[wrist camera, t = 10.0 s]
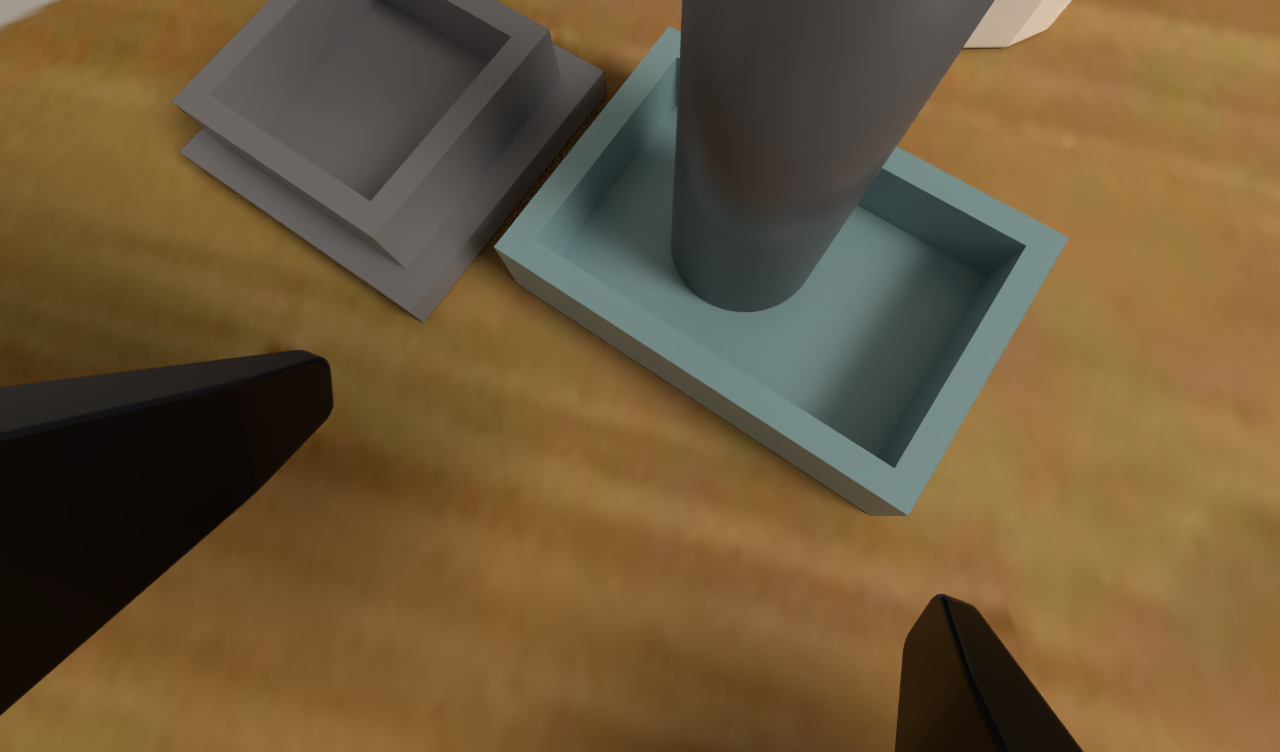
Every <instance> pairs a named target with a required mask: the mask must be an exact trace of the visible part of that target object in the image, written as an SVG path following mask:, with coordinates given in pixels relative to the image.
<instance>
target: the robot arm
mask: <svg viewBox="0 0 1280 752" xmlns="http://www.w3.org/2000/svg"><path fill="white" fill-rule="evenodd" d="M332 409H333V390H332V379H331V369H330V365H329V363H328V361H327V360H326V359H325V358H323V357H321V356H318V355H315V354H313V353H310V352H307V351H304V350H294V351H286V352H278V353H270V354H262V355H254V356H246V357H238V358H230V359H222V360H214V361H206V362H198V363H190V364H182V365H174V366H166V367H158V368H150V369H142V370H134V371H126V372H117V373H109V374H101V375H93V376H85V377H77V378H69V379H61V380H53V381H45V382H37V383H29V384H21V385H13V386H5V387H0V716H1V715H2V714H3V713H4V712H5V711H6V710H7V709H9V708H10V707H11V706H12V705H13V704H14V703H15V702H17V701H18V700H19V699H20V698H21V697H22V696H24V695H25V694H26V693H27V692H28V691H29V690H30V689H32V688H33V687H34V686H35V685H36V684H37V683H38V682H40V681H41V680H42V679H43V678H44V677H45V676H46V675H48V674H49V673H50V672H51V671H52V670H53V669H55V668H56V667H57V666H58V665H59V664H60V663H61V662H63V661H64V660H65V659H66V658H67V657H68V656H69V655H71V654H72V653H73V652H74V651H75V650H76V649H78V648H79V647H80V646H81V645H82V644H83V643H84V642H86V641H87V640H88V639H89V638H90V637H91V636H92V635H94V634H95V633H96V632H97V631H98V630H99V629H100V628H102V627H103V626H104V625H105V624H106V623H107V622H109V621H110V620H111V619H112V618H113V617H114V616H115V615H117V614H118V613H119V612H120V611H121V610H122V609H123V608H125V607H126V606H127V605H128V604H129V603H130V602H132V601H133V600H134V599H135V598H136V597H137V596H138V595H140V594H141V593H142V592H143V591H144V590H145V589H146V588H148V587H149V586H150V585H151V584H152V583H153V582H154V581H156V580H157V579H158V578H159V577H160V576H161V575H163V574H164V573H165V572H166V571H167V570H168V569H169V568H171V567H172V566H173V565H174V564H175V563H176V562H177V561H179V560H180V559H181V558H182V557H183V556H184V555H186V554H187V553H188V552H189V551H190V550H191V549H192V548H194V547H195V546H196V545H197V544H198V543H199V542H200V541H202V540H203V539H204V538H205V537H206V536H207V535H208V534H210V533H211V532H212V531H213V530H214V529H215V528H217V527H218V526H219V525H220V524H221V523H222V522H223V521H225V520H226V519H227V518H228V517H229V516H230V515H231V514H233V513H234V512H235V511H236V510H237V509H238V508H239V507H241V506H242V505H243V504H244V503H245V502H246V501H247V500H248V499H250V498H251V497H252V496H253V495H254V494H255V493H256V492H257V491H258V490H259V489H260V488H261V487H262V486H263V485H264V484H265V483H266V482H267V481H268V480H269V479H270V478H271V477H272V476H273V475H274V474H275V473H276V472H277V471H278V470H279V469H280V468H281V467H282V466H283V465H284V464H285V463H286V462H287V461H288V459H289V458H290V457H291V456H292V455H293V454H294V453H295V452H296V451H297V450H298V449H299V448H300V447H301V446H302V445H303V444H304V443H305V442H306V441H307V440H308V439H309V438H310V436H311V435H312V434H313V433H314V432H315V431H316V430H317V429H318V428H319V427H320V426H321V425H322V424H323V423H324V422H325V421H326V420H327V418H328V417H329V415H330V414H331V412H332ZM895 752H1083V750H1082V749H1081V748H1080V746H1079V745H1078V744H1077V742H1076V741H1075V740H1074V738H1073V737H1072V736H1071V734H1070V733H1069V732H1068V730H1067V729H1066V728H1065V726H1064V725H1063V724H1062V722H1061V721H1060V720H1059V718H1058V717H1057V715H1056V714H1055V713H1054V711H1053V710H1052V709H1051V707H1050V706H1049V705H1048V703H1047V702H1046V701H1045V699H1044V698H1043V697H1042V695H1041V694H1040V693H1039V691H1038V690H1037V689H1036V687H1035V686H1034V685H1033V683H1032V682H1031V681H1030V679H1029V678H1028V677H1027V675H1026V674H1025V673H1024V671H1023V670H1022V669H1021V667H1020V666H1019V664H1018V663H1017V662H1016V660H1015V659H1014V658H1013V656H1012V655H1011V654H1010V652H1009V651H1008V650H1007V648H1006V647H1005V646H1004V644H1003V643H1002V642H1001V640H1000V639H999V638H998V636H997V635H996V634H995V632H994V631H993V630H992V628H991V627H990V626H989V624H988V623H987V622H986V620H985V619H984V617H983V616H982V615H981V613H980V612H979V611H978V610H977V609H976V608H975V607H974V606H973V605H971V604H969V603H967V602H964V601H961V600H959V599H956V598H953V597H951V596H948V595H946V594H937V595H936V596H934V597H933V598H932V599H931V600H930V602H929V603H928V605H927V606H926V608H925V609H924V611H923V612H922V614H921V615H920V617H919V618H918V620H917V621H916V623H915V624H914V626H913V627H912V629H911V630H910V632H909V633H908V635H907V638H906V640H905V644H904V648H903V656H902V669H901V681H900V693H899V706H898V718H897V730H896V742H895Z"/></svg>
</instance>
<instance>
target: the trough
mask: <svg viewBox="0 0 1280 752" xmlns="http://www.w3.org/2000/svg"><path fill="white" fill-rule="evenodd" d="M680 40H681V32H679V31H678V30H676V29H674V28H672V27H670V26H669V27H668V28H667V30H666V31H665V32H664V33H663V35H662V36H661V37H660V38H659V40H658V41H657V42H656V43H655V45H654V46H653V47H652V48H651V50H650V51H649V52H648V54H647V55H646V56H645V57H644V59H643V60H642V61H641V62H640V64H639V65H638V66H637V67H636V69H635V70H634V71H633V72H632V74H631V75H630V76H629V77H628V79H627V80H626V81H625V82H624V84H623V85H622V86H621V88H620V89H619V90H618V91H617V93H616V94H615V95H614V96H613V98H612V99H611V100H610V101H609V103H608V104H607V105H606V106H605V108H604V109H603V110H602V111H601V113H600V114H599V115H598V116H597V118H596V119H595V120H594V122H593V123H592V124H591V125H590V127H589V128H588V129H587V130H586V132H585V133H584V134H583V135H582V137H581V138H580V139H579V140H578V142H577V143H576V144H575V145H574V147H573V148H572V149H571V150H570V152H569V153H568V154H567V156H566V157H565V158H564V159H563V161H562V162H561V163H560V164H559V166H558V167H557V168H556V169H555V171H554V172H553V173H552V174H551V176H550V177H549V178H548V179H547V181H546V182H545V183H544V185H543V186H542V187H541V188H540V190H539V191H538V192H537V193H536V195H535V196H534V197H533V198H532V200H531V201H530V202H529V203H528V205H527V206H526V207H525V208H524V210H523V211H522V212H521V213H520V215H519V216H518V217H517V219H516V220H515V221H514V222H513V224H512V225H511V226H510V227H509V229H508V230H507V231H506V232H505V234H504V235H503V236H502V237H501V239H500V240H499V241H498V242H497V244H496V245H495V246H494V248H495V250H496V251H497V253H498V254H499V256H500V257H501V259H502V260H503V262H504V264H505V265H506V267H507V268H508V270H509V271H510V273H511V274H512V276H513V277H514V279H515V281H516V282H517V284H518V285H520V286H521V287H523V288H525V289H526V290H528V291H529V292H531V293H532V294H534V295H535V296H537V297H538V298H540V299H541V300H543V301H544V302H546V303H547V304H549V305H550V306H552V307H553V308H555V309H557V310H558V311H560V312H561V313H563V314H564V315H566V316H567V317H569V318H570V319H572V320H573V321H575V322H576V323H578V324H579V325H581V326H582V327H584V328H585V329H587V330H589V331H590V332H592V333H593V334H595V335H596V336H598V337H599V338H601V339H602V340H604V341H605V342H607V343H608V344H610V345H611V346H613V347H614V348H616V349H617V350H619V351H621V352H622V353H624V354H625V355H627V356H628V357H630V358H631V359H633V360H634V361H636V362H637V363H639V364H640V365H642V366H643V367H645V368H646V369H648V370H649V371H651V372H653V373H654V374H656V375H657V376H659V377H660V378H662V379H663V380H665V381H666V382H668V383H669V384H671V385H672V386H674V387H675V388H677V389H678V390H680V391H681V392H683V393H684V394H686V395H688V396H689V397H691V398H692V399H694V400H695V401H697V402H698V403H700V404H701V405H703V406H704V407H706V408H707V409H709V410H710V411H712V412H713V413H715V414H716V415H718V416H720V417H721V418H723V419H724V420H726V421H727V422H729V423H730V424H732V425H733V426H735V427H736V428H738V429H739V430H741V431H742V432H744V433H745V434H747V435H748V436H750V437H752V438H753V439H755V440H756V441H758V442H759V443H761V444H762V445H764V446H765V447H767V448H768V449H770V450H771V451H773V452H774V453H776V454H777V455H779V456H780V457H782V458H784V459H785V460H787V461H788V462H790V463H791V464H793V465H794V466H796V467H797V468H799V469H800V470H802V471H803V472H805V473H806V474H808V475H809V476H811V477H812V478H814V479H816V480H817V481H819V482H820V483H822V484H823V485H825V486H826V487H828V488H829V489H831V490H832V491H834V492H835V493H837V494H838V495H840V496H841V497H843V498H844V499H846V500H848V501H849V502H851V503H852V504H854V505H855V506H857V507H858V508H860V509H861V510H863V511H864V512H866V513H867V514H869V515H870V516H908V515H909V514H910V512H911V510H912V508H913V507H914V505H915V503H916V501H917V500H918V498H919V496H920V494H921V493H922V491H923V489H924V488H925V486H926V484H927V482H928V481H929V479H930V477H931V475H932V474H933V472H934V470H935V469H936V467H937V465H938V463H939V462H940V460H941V458H942V456H943V455H944V453H945V451H946V449H947V448H948V446H949V444H950V443H951V441H952V439H953V437H954V436H955V434H956V432H957V430H958V429H959V427H960V425H961V424H962V422H963V420H964V418H965V417H966V415H967V413H968V411H969V410H970V408H971V406H972V404H973V403H974V401H975V399H976V398H977V396H978V394H979V392H980V391H981V389H982V387H983V385H984V384H985V382H986V380H987V379H988V377H989V375H990V373H991V372H992V370H993V368H994V366H995V365H996V363H997V361H998V359H999V358H1000V356H1001V354H1002V353H1003V351H1004V349H1005V347H1006V346H1007V344H1008V342H1009V340H1010V339H1011V337H1012V335H1013V334H1014V332H1015V330H1016V328H1017V327H1018V325H1019V323H1020V321H1021V320H1022V318H1023V316H1024V315H1025V313H1026V311H1027V309H1028V308H1029V306H1030V304H1031V302H1032V301H1033V299H1034V297H1035V295H1036V294H1037V292H1038V290H1039V289H1040V287H1041V285H1042V283H1043V282H1044V280H1045V278H1046V276H1047V275H1048V273H1049V271H1050V270H1051V268H1052V266H1053V264H1054V263H1055V261H1056V259H1057V257H1058V256H1059V254H1060V252H1061V250H1062V249H1063V247H1064V245H1065V244H1066V242H1067V240H1068V237H1067V236H1065V235H1063V234H1061V233H1059V232H1057V231H1055V230H1053V229H1051V228H1050V227H1048V226H1046V225H1044V224H1042V223H1040V222H1038V221H1036V220H1034V219H1033V218H1031V217H1029V216H1027V215H1025V214H1023V213H1021V212H1019V211H1017V210H1016V209H1014V208H1012V207H1010V206H1008V205H1006V204H1004V203H1002V202H1000V201H999V200H997V199H995V198H993V197H991V196H989V195H987V194H985V193H983V192H982V191H980V190H978V189H976V188H974V187H972V186H970V185H968V184H966V183H965V182H963V181H961V180H959V179H957V178H955V177H953V176H951V175H950V174H948V173H946V172H944V171H942V170H940V169H938V168H936V167H934V166H933V165H931V164H929V163H927V162H925V161H923V160H921V159H919V158H917V157H916V156H914V155H912V154H910V153H908V152H906V151H904V150H902V149H900V148H899V147H897V146H896V148H895V149H894V151H893V152H892V154H891V155H890V157H889V158H888V160H887V161H886V163H885V164H884V166H883V167H882V169H881V170H880V172H879V173H878V175H877V176H876V178H875V179H874V181H873V182H872V184H871V185H870V186H869V188H868V189H867V191H866V192H865V194H864V195H863V197H862V198H861V200H860V201H859V203H858V204H857V206H856V207H855V209H854V210H853V212H852V213H851V215H850V216H849V218H848V219H847V221H846V222H845V224H844V225H843V227H842V228H841V230H840V231H839V233H838V234H837V235H836V237H835V238H834V240H833V241H832V243H831V244H830V246H829V247H828V249H827V250H826V252H825V253H824V255H823V256H822V258H821V259H820V261H819V262H818V264H817V265H816V267H815V268H814V270H813V271H812V273H811V274H810V276H809V277H808V279H807V280H806V281H805V283H804V284H803V286H802V287H801V288H800V289H799V290H798V291H797V292H796V293H795V294H794V295H793V296H792V297H790V298H789V299H788V300H786V301H784V302H783V303H781V304H779V305H777V306H774V307H772V308H769V309H766V310H762V311H756V312H734V311H729V310H724V309H721V308H718V307H716V306H713V305H711V304H709V303H707V302H705V301H704V300H702V299H701V298H699V297H698V296H697V295H696V294H695V293H693V292H692V291H691V290H690V289H689V288H688V286H687V285H686V284H685V283H684V281H683V280H682V278H681V277H680V275H679V273H678V271H677V269H676V267H675V264H674V261H673V257H672V251H671V232H672V210H673V189H674V168H675V147H676V125H677V104H678V83H679V62H680Z"/></svg>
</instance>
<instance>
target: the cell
mask: <svg viewBox="0 0 1280 752" xmlns="http://www.w3.org/2000/svg"><path fill="white" fill-rule="evenodd" d="M994 1H995V0H682V19H681V40H680V62H679V83H678V104H677V125H676V147H675V168H674V189H673V210H672V232H671V251H672V257H673V261H674V264H675V267H676V269H677V271H678V273H679V275H680V277H681V278H682V280H683V281H684V283H685V284H686V285H687V286H688V288H689V289H690V290H691V291H692V292H693V293H695V294H696V295H697V296H698V297H699V298H701V299H702V300H704V301H705V302H707V303H709V304H711V305H713V306H716V307H718V308H721V309H724V310H729V311H734V312H756V311H762V310H766V309H769V308H772V307H774V306H777V305H779V304H781V303H783V302H784V301H786V300H788V299H789V298H790V297H792V296H793V295H794V294H795V293H796V292H797V291H798V290H799V289H800V288H801V287H802V286H803V284H804V283H805V281H806V280H807V279H808V277H809V276H810V274H811V273H812V271H813V270H814V268H815V267H816V265H817V264H818V262H819V261H820V259H821V258H822V256H823V255H824V253H825V252H826V250H827V249H828V247H829V246H830V244H831V243H832V241H833V240H834V238H835V237H836V235H837V234H838V233H839V231H840V230H841V228H842V227H843V225H844V224H845V222H846V221H847V219H848V218H849V216H850V215H851V213H852V212H853V210H854V209H855V207H856V206H857V204H858V203H859V201H860V200H861V198H862V197H863V195H864V194H865V192H866V191H867V189H868V188H869V186H870V185H871V184H872V182H873V181H874V179H875V178H876V176H877V175H878V173H879V172H880V170H881V169H882V167H883V166H884V164H885V163H886V161H887V160H888V158H889V157H890V155H891V154H892V152H893V151H894V149H895V148H896V146H897V145H898V143H899V142H900V140H901V139H902V137H903V136H904V134H905V133H906V132H907V130H908V129H909V127H910V126H911V124H912V123H913V121H914V120H915V118H916V117H917V115H918V114H919V112H920V111H921V109H922V108H923V106H924V105H925V103H926V102H927V100H928V99H929V97H930V96H931V94H932V93H933V91H934V90H935V88H936V87H937V85H938V84H939V82H940V81H941V80H942V78H943V77H944V75H945V74H946V72H947V71H948V69H949V68H950V66H951V65H952V63H953V62H954V60H955V59H956V57H957V56H958V54H959V53H960V51H961V50H962V48H963V47H964V45H965V44H966V42H967V41H968V39H969V38H970V36H971V35H972V33H973V32H974V30H975V29H976V28H977V26H978V25H979V23H980V22H981V20H982V19H983V17H984V16H985V14H986V13H987V11H988V10H989V8H990V7H991V5H992V4H993V2H994Z"/></svg>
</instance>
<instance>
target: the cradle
mask: <svg viewBox="0 0 1280 752" xmlns="http://www.w3.org/2000/svg"><path fill="white" fill-rule="evenodd" d="M606 94H607V91H606V84H605V77H604V71H602V70H600V69H598V68H597V67H595V66H593V65H591V64H590V63H588V62H586V61H584V60H582V59H581V58H579V57H577V56H575V55H573V54H572V53H570V52H568V51H566V50H564V49H563V48H561V47H559V46H557V45H556V44H554V43H552V39H551V35H550V31H549V29H547V28H545V27H544V26H542V25H540V24H538V23H536V22H535V21H533V20H531V19H529V18H527V17H526V16H524V15H522V14H520V13H518V12H517V11H515V10H513V9H511V8H509V7H508V6H506V5H504V4H502V3H500V2H499V1H497V0H269V1H268V2H267V3H266V4H265V5H264V6H263V7H262V8H261V9H260V10H259V11H258V12H257V13H256V14H255V15H254V16H253V17H252V18H251V19H250V21H249V22H248V23H247V24H246V25H245V26H244V27H243V28H242V29H241V30H240V31H239V32H238V33H237V34H236V35H235V36H234V37H233V38H232V39H231V40H230V41H229V42H228V43H227V44H226V45H225V46H224V47H223V48H222V49H221V50H220V51H219V52H218V54H217V55H216V56H215V57H214V58H213V59H212V60H211V61H210V62H209V63H208V64H207V65H206V66H205V67H204V68H203V69H202V70H201V71H200V72H199V73H198V74H197V75H196V76H195V77H194V78H193V79H192V80H191V81H190V82H189V83H188V84H187V85H186V86H185V88H184V89H183V90H182V91H181V92H180V93H179V94H178V95H177V96H176V97H175V98H174V99H173V100H172V101H171V102H172V103H173V104H175V105H176V106H177V107H178V108H179V109H181V110H182V111H183V112H184V113H185V114H187V115H188V116H189V117H190V118H191V119H193V120H194V121H195V122H196V123H197V124H199V125H200V126H201V127H202V129H201V130H200V131H199V132H198V133H197V134H196V135H195V136H194V137H193V138H192V139H191V140H190V141H189V142H188V144H187V145H186V146H185V147H184V148H183V149H182V150H181V151H180V153H181V154H183V155H184V156H186V157H187V158H188V159H190V160H191V161H192V162H194V163H195V164H196V165H198V166H199V167H200V168H202V169H203V170H204V171H206V172H207V173H209V174H210V175H212V176H213V177H214V178H216V179H217V180H219V181H220V182H222V183H223V184H224V185H226V186H227V187H229V188H230V189H232V190H233V191H235V192H236V193H237V194H239V195H240V196H242V197H243V198H245V199H246V200H247V201H249V202H250V203H252V204H253V205H255V206H256V207H258V208H259V209H260V210H262V211H263V212H265V213H266V214H268V215H269V216H270V217H272V218H273V219H275V220H276V221H278V222H279V223H281V224H282V225H283V226H285V227H286V228H288V229H289V230H291V231H292V232H293V233H295V234H296V235H298V236H299V237H301V238H302V239H304V240H305V241H306V242H308V243H309V244H311V245H312V246H314V247H315V248H316V249H318V250H319V251H321V252H322V253H324V254H325V255H327V256H328V257H329V258H331V259H332V260H334V261H335V262H337V263H338V264H339V265H341V266H342V267H344V268H345V269H347V270H348V271H350V272H351V273H352V274H354V275H355V276H357V277H358V278H360V279H361V280H362V281H364V282H365V283H367V284H368V285H370V286H371V287H373V288H374V289H375V290H377V291H378V292H380V293H381V294H383V295H384V296H385V297H387V298H388V299H390V300H391V301H393V302H394V303H396V304H397V305H398V306H400V307H401V308H403V309H404V310H406V311H407V312H408V313H410V314H411V315H413V316H414V317H416V318H417V319H419V320H420V321H421V322H423V323H424V322H425V320H426V319H427V318H428V317H429V315H430V314H431V313H432V312H433V310H434V309H435V308H436V307H437V305H438V304H439V303H440V302H441V300H442V299H443V298H444V297H445V295H446V294H447V293H448V292H449V290H450V289H451V288H452V287H453V285H454V284H455V283H456V282H457V280H458V279H459V278H460V277H461V275H462V274H463V273H464V272H465V270H466V269H467V268H468V267H469V265H470V264H471V263H472V262H473V260H474V259H475V258H476V257H477V255H478V254H479V253H480V252H481V250H482V249H483V248H484V247H485V245H486V244H487V243H488V241H489V240H490V239H491V238H492V236H493V235H494V234H495V233H496V231H497V230H498V229H499V228H500V226H501V225H502V224H503V223H504V221H505V220H506V219H507V218H508V216H509V215H510V214H511V213H512V211H513V210H514V209H515V208H516V206H517V205H518V204H519V203H520V201H521V200H522V199H523V198H524V196H525V195H526V194H527V193H528V191H529V190H530V189H531V188H532V186H533V185H534V184H535V183H536V181H537V180H538V179H539V178H540V176H541V175H542V174H543V173H544V171H545V170H546V169H547V168H548V166H549V165H550V164H551V163H552V161H553V160H554V159H555V158H556V156H557V155H558V154H559V152H560V151H561V150H562V149H563V147H564V146H565V145H566V144H567V142H568V141H569V140H570V139H571V137H572V136H573V135H574V134H575V132H576V131H577V130H578V129H579V127H580V126H581V125H582V124H583V122H584V121H585V120H586V119H587V117H588V116H589V115H590V114H591V112H592V111H593V110H594V109H595V107H596V106H597V105H598V104H599V102H600V101H601V100H602V99H603V97H604V96H605V95H606Z"/></svg>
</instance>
